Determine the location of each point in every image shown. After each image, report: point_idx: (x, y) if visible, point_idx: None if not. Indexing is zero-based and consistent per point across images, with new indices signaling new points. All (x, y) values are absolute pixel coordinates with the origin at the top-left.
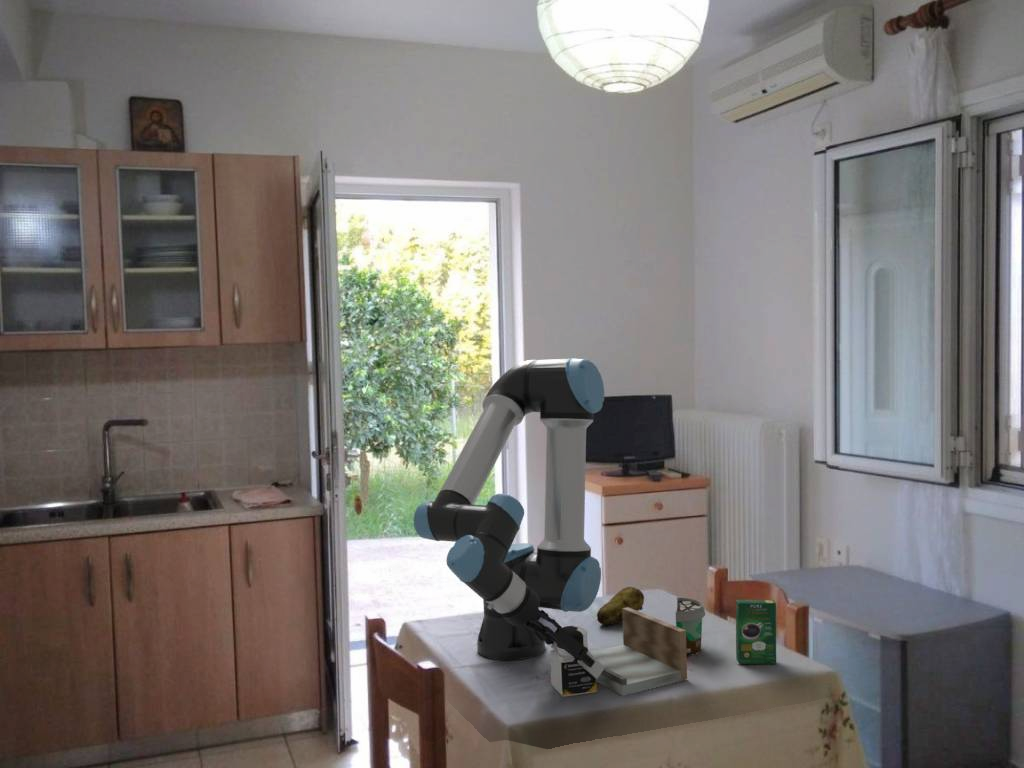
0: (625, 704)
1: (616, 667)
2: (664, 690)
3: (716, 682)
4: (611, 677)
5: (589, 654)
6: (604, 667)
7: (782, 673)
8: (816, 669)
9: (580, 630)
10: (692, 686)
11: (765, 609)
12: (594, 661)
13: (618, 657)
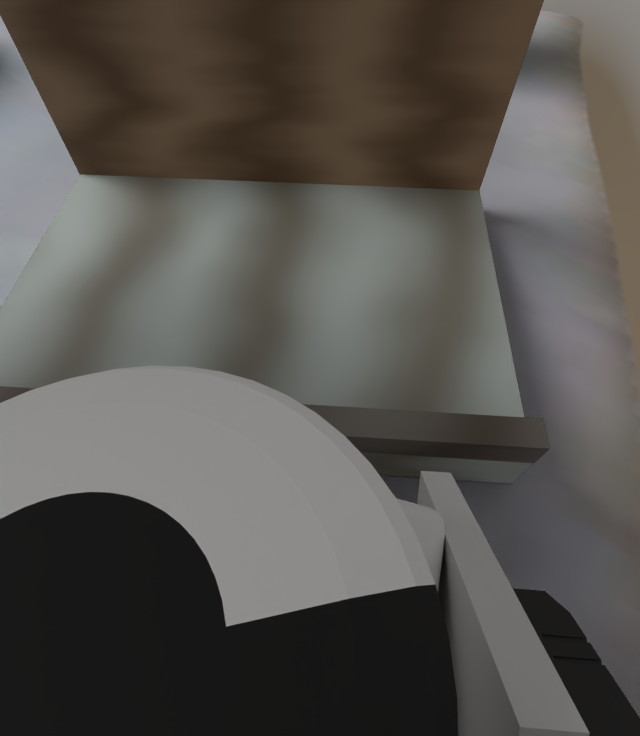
0: (632, 547)
1: (272, 331)
2: (525, 308)
3: (529, 166)
4: (419, 450)
5: (523, 621)
6: (450, 477)
7: (540, 57)
8: (547, 18)
9: (305, 544)
10: (530, 225)
11: None
12: (556, 603)
13: (174, 257)
